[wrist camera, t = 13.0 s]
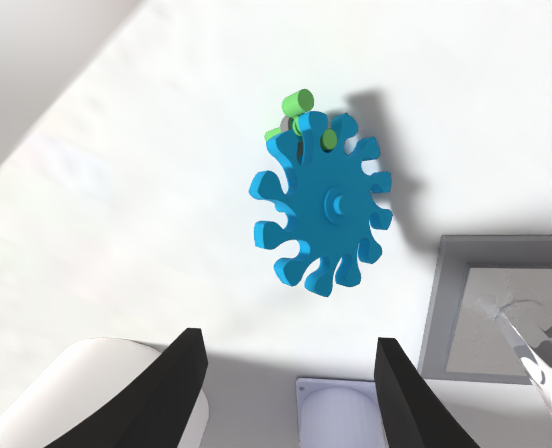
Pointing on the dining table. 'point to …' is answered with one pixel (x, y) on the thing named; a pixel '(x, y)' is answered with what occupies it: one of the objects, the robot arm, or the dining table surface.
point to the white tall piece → (84, 393)
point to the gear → (321, 197)
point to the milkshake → (530, 342)
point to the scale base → (447, 289)
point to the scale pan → (492, 315)
